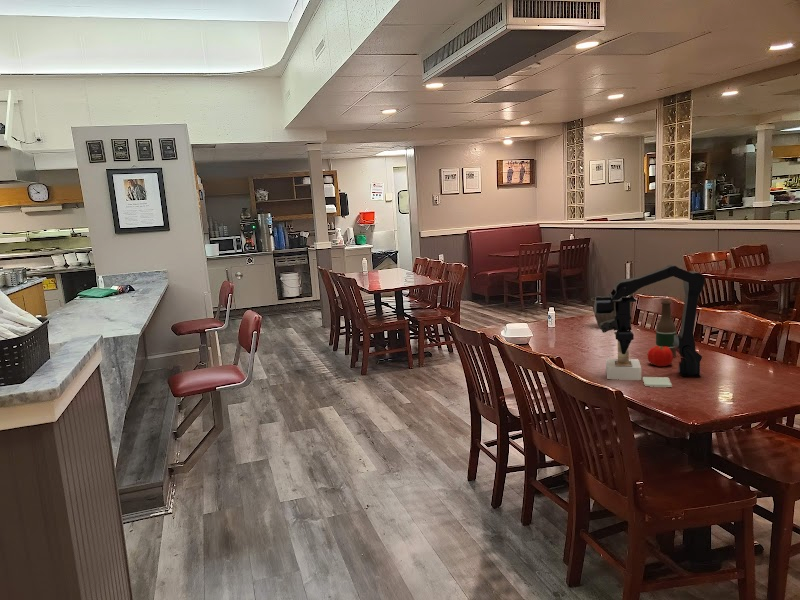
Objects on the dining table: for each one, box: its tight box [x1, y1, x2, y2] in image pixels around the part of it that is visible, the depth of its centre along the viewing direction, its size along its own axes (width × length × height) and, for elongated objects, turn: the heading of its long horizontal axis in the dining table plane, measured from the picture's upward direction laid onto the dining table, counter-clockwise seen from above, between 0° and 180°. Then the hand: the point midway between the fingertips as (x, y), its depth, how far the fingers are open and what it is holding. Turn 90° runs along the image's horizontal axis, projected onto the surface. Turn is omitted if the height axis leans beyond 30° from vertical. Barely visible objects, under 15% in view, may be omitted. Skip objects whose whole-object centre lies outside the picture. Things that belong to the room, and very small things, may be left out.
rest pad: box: [641, 376, 673, 388], centre depth 209 cm, size 9×9×1 cm
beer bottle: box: [655, 300, 677, 358], centre depth 241 cm, size 8×8×24 cm
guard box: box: [605, 358, 642, 381], centre depth 220 cm, size 12×12×5 cm
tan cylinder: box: [617, 340, 630, 364], centre depth 219 cm, size 4×4×10 cm
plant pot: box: [590, 295, 615, 329], centre depth 301 cm, size 15×15×16 cm
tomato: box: [647, 345, 674, 367], centre depth 231 cm, size 9×9×8 cm
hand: (623, 352), depth 219 cm, fingers closed on tan cylinder, 4 cm apart
